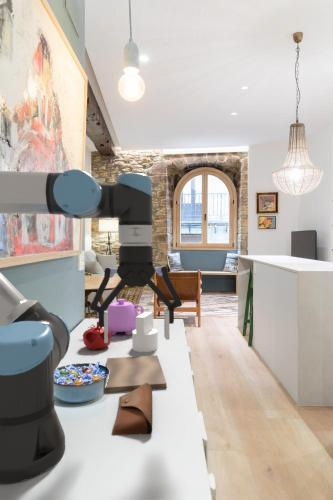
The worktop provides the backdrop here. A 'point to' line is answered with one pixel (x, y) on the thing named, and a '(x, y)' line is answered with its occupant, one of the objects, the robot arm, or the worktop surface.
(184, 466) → the worktop surface
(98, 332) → the pomegranate
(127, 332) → the teapot
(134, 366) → the walnut board
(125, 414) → the sunglasses case
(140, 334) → the base with upright slab
